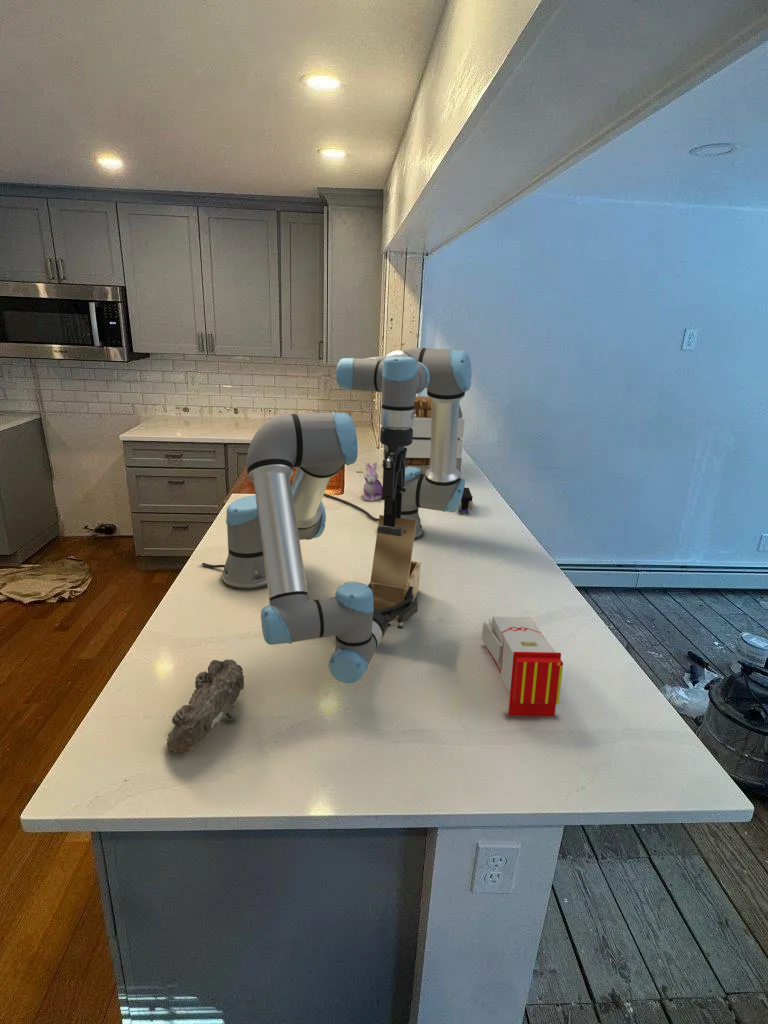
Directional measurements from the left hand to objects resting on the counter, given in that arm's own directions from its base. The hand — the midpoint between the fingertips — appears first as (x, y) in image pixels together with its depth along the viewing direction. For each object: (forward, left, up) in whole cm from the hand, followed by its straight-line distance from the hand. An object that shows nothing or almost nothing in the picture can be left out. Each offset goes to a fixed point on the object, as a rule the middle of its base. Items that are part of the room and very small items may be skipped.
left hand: (391, 587), depth 147 cm
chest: (0, +5, -6) cm, 8 cm away
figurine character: (+7, +87, -6) cm, 88 cm away
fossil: (-22, -51, -6) cm, 56 cm away
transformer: (-20, +133, -6) cm, 134 cm away
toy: (+33, -19, -6) cm, 38 cm away
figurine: (-30, +87, -6) cm, 93 cm away
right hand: (0, -3, +20) cm, 20 cm away
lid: (0, 0, +11) cm, 11 cm away
